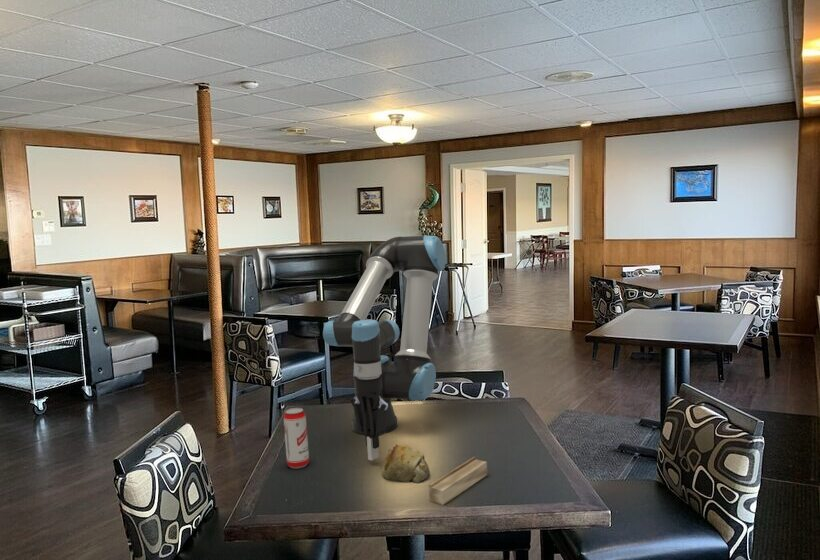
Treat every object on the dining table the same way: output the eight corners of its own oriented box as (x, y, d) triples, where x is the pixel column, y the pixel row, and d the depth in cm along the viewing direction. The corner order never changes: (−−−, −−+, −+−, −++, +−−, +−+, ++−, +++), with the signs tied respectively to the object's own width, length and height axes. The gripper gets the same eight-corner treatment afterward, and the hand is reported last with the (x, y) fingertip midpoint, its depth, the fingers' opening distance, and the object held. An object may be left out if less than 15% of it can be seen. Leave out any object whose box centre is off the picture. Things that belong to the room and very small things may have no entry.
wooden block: (429, 500, 149) (428, 484, 149) (474, 471, 165) (473, 456, 165) (443, 505, 147) (442, 488, 147) (487, 474, 162) (486, 459, 162)
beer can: (313, 461, 178) (309, 407, 176) (302, 470, 172) (298, 414, 170) (294, 460, 180) (290, 406, 178) (283, 468, 174) (278, 413, 172)
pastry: (374, 470, 170) (372, 442, 169) (415, 460, 175) (413, 433, 174) (394, 489, 157) (392, 459, 156) (438, 478, 162) (436, 449, 161)
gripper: (341, 376, 173) (347, 458, 175) (376, 382, 164) (382, 467, 167) (360, 370, 178) (365, 449, 181) (395, 375, 170) (399, 458, 173)
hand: (373, 458), depth 174 cm, fingers closed
